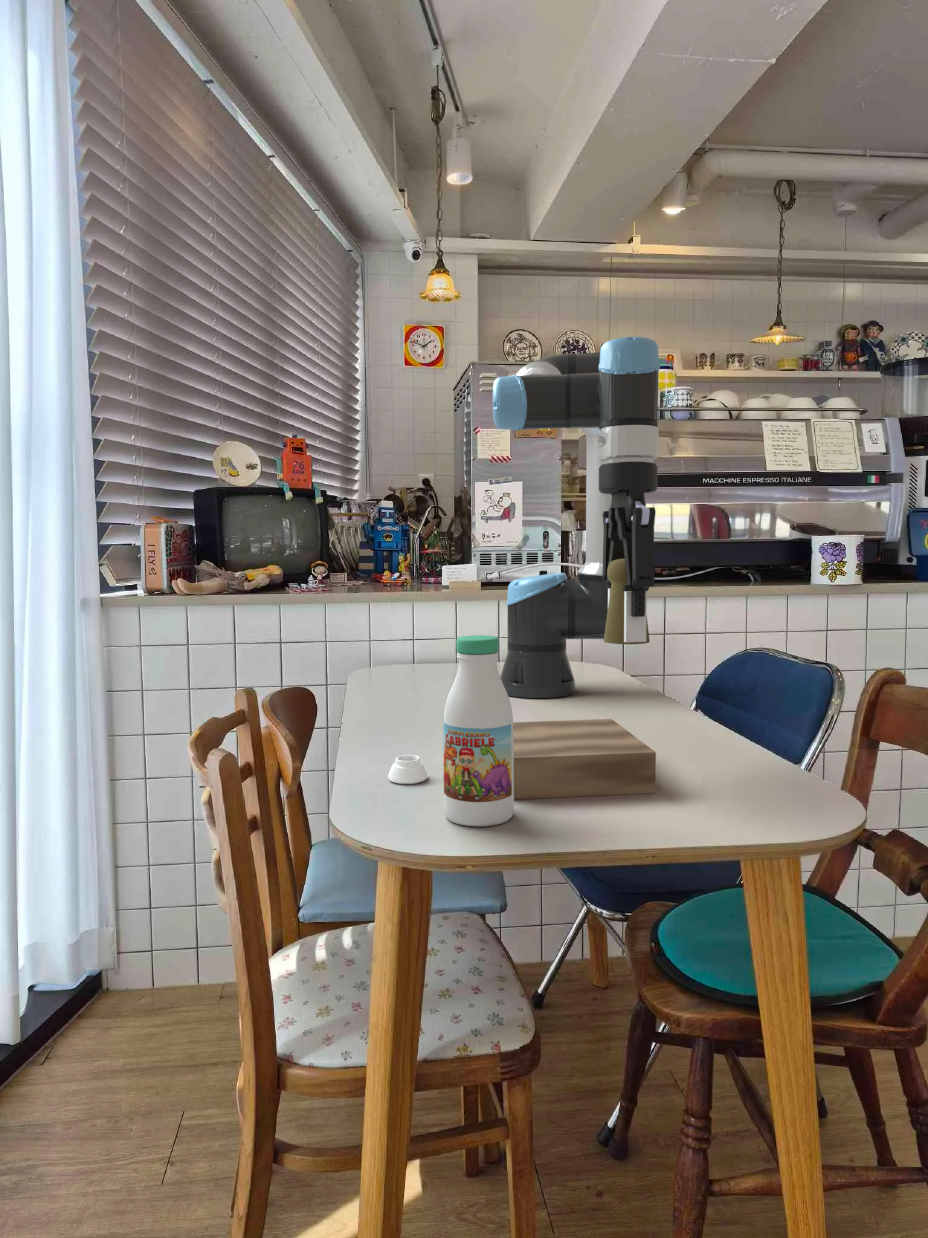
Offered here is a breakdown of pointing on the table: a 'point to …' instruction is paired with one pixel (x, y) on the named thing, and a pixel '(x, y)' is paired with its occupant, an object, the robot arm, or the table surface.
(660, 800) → the table surface
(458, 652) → the milk bottle
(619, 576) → the olive pepper mill
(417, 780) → the white jar
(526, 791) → the walnut riser
